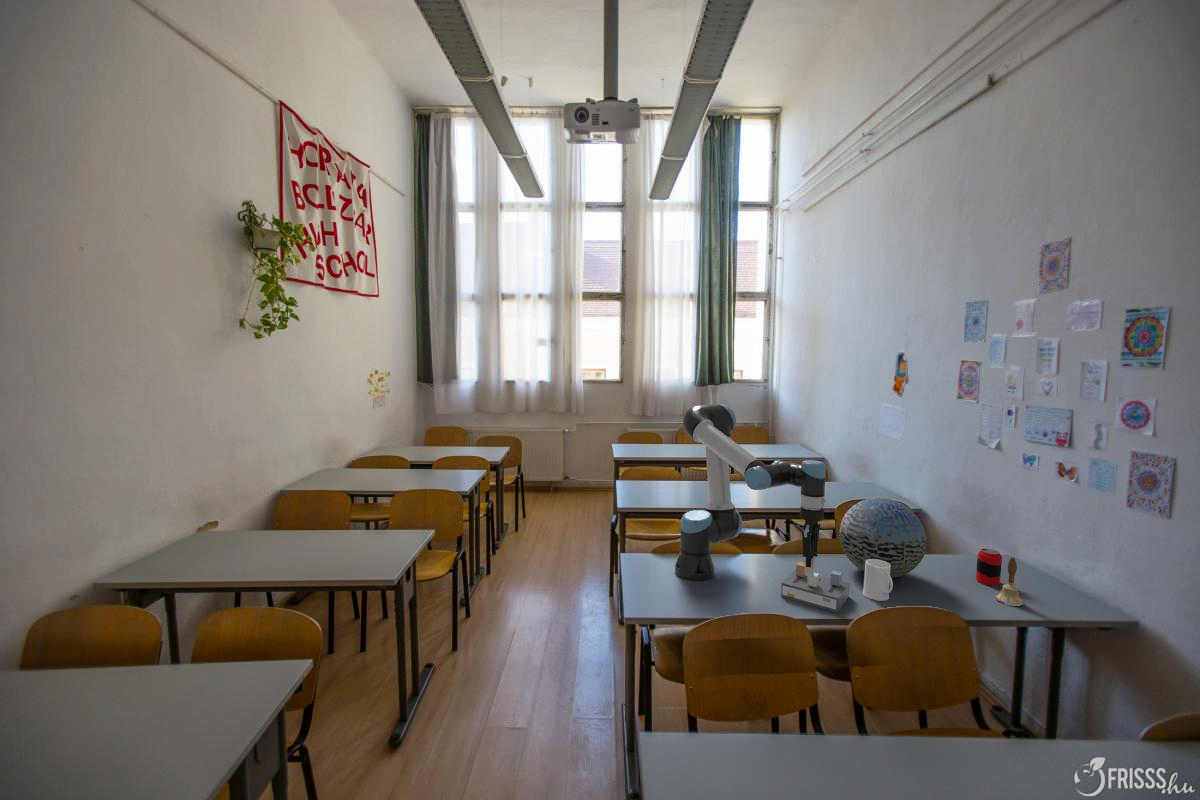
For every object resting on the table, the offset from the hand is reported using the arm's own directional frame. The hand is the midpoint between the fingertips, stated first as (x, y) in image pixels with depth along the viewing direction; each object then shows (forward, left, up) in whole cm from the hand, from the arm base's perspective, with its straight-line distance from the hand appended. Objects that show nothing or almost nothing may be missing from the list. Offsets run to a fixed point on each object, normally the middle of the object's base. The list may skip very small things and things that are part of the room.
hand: (809, 575), depth 189 cm
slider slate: (+6, +13, -6) cm, 15 cm away
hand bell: (+55, +49, -11) cm, 74 cm away
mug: (+18, +23, -11) cm, 31 cm away
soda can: (+48, +64, -11) cm, 81 cm away
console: (0, +10, -11) cm, 15 cm away
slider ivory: (0, +7, -6) cm, 9 cm away
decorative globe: (+14, +45, -11) cm, 49 cm away
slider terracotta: (-6, +13, -6) cm, 15 cm away
